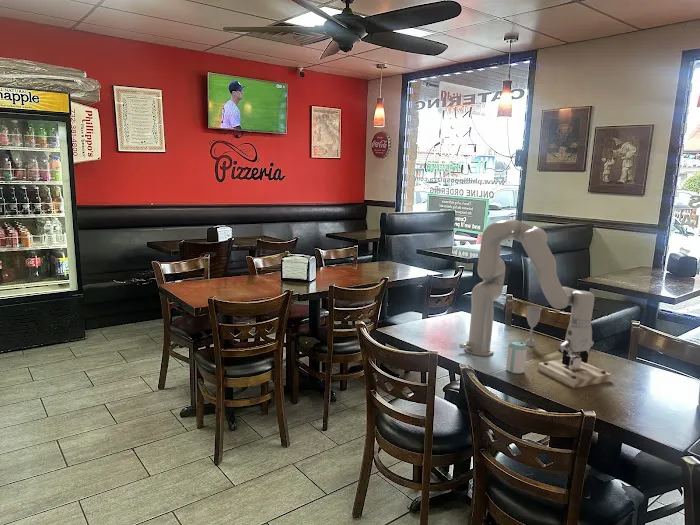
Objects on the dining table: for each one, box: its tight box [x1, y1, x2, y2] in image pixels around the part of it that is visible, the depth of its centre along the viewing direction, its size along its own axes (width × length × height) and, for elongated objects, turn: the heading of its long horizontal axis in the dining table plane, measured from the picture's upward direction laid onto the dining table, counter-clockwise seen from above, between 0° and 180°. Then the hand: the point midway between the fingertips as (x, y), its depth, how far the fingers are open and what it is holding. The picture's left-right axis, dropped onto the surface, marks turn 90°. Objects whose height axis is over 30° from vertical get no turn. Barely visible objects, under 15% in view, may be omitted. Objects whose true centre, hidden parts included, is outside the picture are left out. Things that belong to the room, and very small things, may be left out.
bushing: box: [567, 354, 582, 372], centre depth 194 cm, size 5×5×8 cm
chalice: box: [524, 305, 543, 347], centre depth 228 cm, size 7×7×18 cm
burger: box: [558, 345, 581, 356], centre depth 221 cm, size 12×12×8 cm
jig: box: [536, 358, 612, 389], centre depth 194 cm, size 20×18×4 cm
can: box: [505, 340, 528, 375], centre depth 195 cm, size 7×7×12 cm
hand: (574, 363), depth 194 cm, fingers open, 9 cm apart
